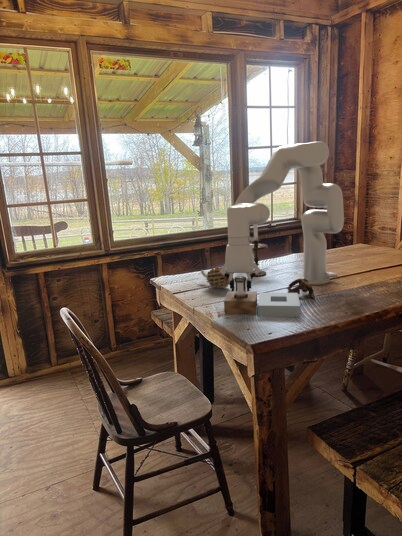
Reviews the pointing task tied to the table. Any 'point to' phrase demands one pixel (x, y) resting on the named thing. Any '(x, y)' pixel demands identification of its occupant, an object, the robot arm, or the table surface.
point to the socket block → (279, 305)
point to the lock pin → (240, 286)
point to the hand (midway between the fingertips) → (240, 289)
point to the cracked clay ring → (301, 287)
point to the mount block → (240, 303)
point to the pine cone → (216, 278)
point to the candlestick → (256, 248)
